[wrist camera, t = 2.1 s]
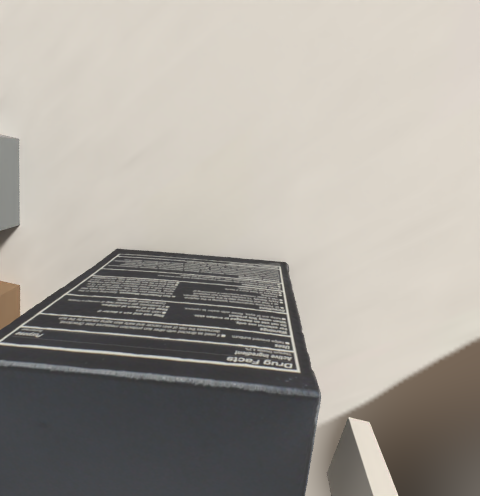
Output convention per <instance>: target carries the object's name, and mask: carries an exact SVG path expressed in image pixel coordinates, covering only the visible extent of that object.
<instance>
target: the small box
mask: <svg viewBox="0 0 480 496" xmlns="http://www.w3.org/2000/svg"><path fill="white" fill-rule="evenodd" d="M320 401H321V392H320V389H319V386H318V383H317V380H316V377H315V374H314V372H313V370H312V368H311V362H310V357H309V354H308V352H307V348H306V344H305V339H304V335H303V333H302V326H301V321H300V317H299V313H298V309H297V305H296V301H295V297H294V293H293V290H292V284H291V280H290V276H289V266H288V264H287V263H286V262H274V261H264V260H253V259H240V258H231V257H215V256H203V255H189V254H179V253H166V252H153V251H139V250H124V249H116V250H115V251H113V252H112V253H111V254H109V255H108V256H107V257H106V258H104V259H103V260H102V261H100V262H99V263H97V264H96V265H95V266H94V267H92V268H91V269H89V270H87V271H86V272H85V273H83V274H82V275H80V276H79V277H77V278H76V279H74V280H73V281H71V282H70V283H69V284H67V285H66V286H65V287H63V288H61V289H59V290H58V291H56V292H55V293H54V294H52V295H51V296H49V297H47V298H46V299H45V300H43V301H42V302H41V303H39V304H37V305H36V306H34V307H33V308H32V309H30V310H28V311H27V312H26V313H24V314H23V315H21V316H20V317H18V318H17V319H15V320H14V321H13V322H11V323H10V324H9V325H7V326H5V327H4V328H2V329H1V330H0V496H305V491H306V486H307V481H308V474H309V468H310V462H311V455H312V451H313V445H314V437H315V432H316V425H317V419H318V413H319V408H320Z"/></svg>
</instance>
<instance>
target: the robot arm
mask: <svg viewBox="0 0 480 496" xmlns="http://www.w3.org/2000/svg"><path fill="white" fill-rule="evenodd" d="M327 476H328V481H329V486H330V492H331V496H398V494H397V491H396V489H395V486H394V483H393V481H392V478H391V476H390V473H389V471H388V468H387V466H386V463H385V461H384V458H383V455H382V453H381V450H380V448H379V446H378V443H377V440H376V438H375V435H374V433H373V430H372V428H371V425H370V423H369V422H366V421H362V420H358V419H354V418H348V420H347V422H346V425H345V428H344V430H343V433H342V435H341V438H340V441H339V443H338V446H337V449H336V451H335V453H334V456H333V459H332V461H331V464H330V466H329V469H328V472H327Z"/></svg>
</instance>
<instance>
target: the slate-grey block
mask: <svg viewBox="0 0 480 496" xmlns="http://www.w3.org/2000/svg"><path fill="white" fill-rule="evenodd" d="M18 225H20V224H19V139H18V138H13V137H9V136H4V135H0V231H1V230H4V229H8V228H11V227H15V226H18Z"/></svg>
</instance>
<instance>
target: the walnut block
mask: <svg viewBox="0 0 480 496" xmlns="http://www.w3.org/2000/svg"><path fill="white" fill-rule="evenodd" d="M18 317H20V285H16V284H12V283H7V282H3V281H0V330H1V329H2V328H4V327H5V326H7V325H9V324H10V323H11V322H13V321H14V320H15V319H17V318H18Z"/></svg>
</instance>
